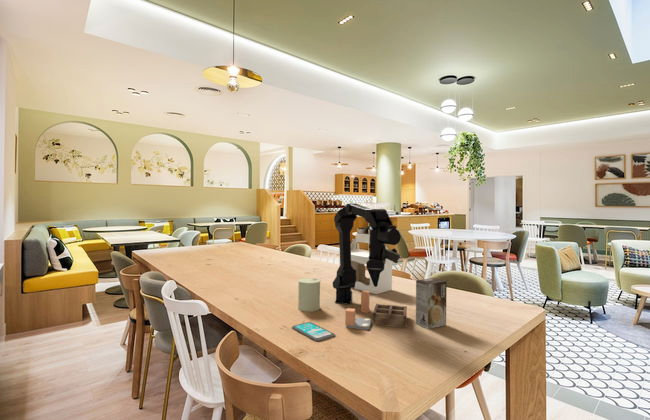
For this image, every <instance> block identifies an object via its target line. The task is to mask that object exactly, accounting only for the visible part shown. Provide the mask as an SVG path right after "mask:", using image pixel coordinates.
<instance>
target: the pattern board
mask: <svg viewBox="0 0 650 420" xmlns="http://www.w3.org/2000/svg"><path fill="white" fill-rule="evenodd" d="M344 314H345V318H344V319H345V321H344V322H345V324H344V325H345V328H346V329H347V328H348V329H356V330H357V329H358V330H364V331H365V330H366V331H369V330H370V328H371V325H372V323H373V318H363V317H362V318H361V317H356V308H351V307H347V308H346V310H345V313H344Z"/></svg>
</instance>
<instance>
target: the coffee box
mask: <svg viewBox="0 0 650 420" xmlns="http://www.w3.org/2000/svg"><path fill="white" fill-rule="evenodd" d="M415 324H417V325H418V326H420V327H422V328H425V329H427V330H429V329H434V328H438V327H443V326H447V281H446V280H442V279H438V278H435V277H432V278H426V279H425V278H424V279H418V280H415Z"/></svg>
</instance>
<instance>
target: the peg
mask: <svg viewBox="0 0 650 420" xmlns="http://www.w3.org/2000/svg"><path fill="white" fill-rule="evenodd" d="M360 296H361V297H360V312H361V313H367V314H368V313H369V312H370V291H365V290H362V291H361V294H360Z"/></svg>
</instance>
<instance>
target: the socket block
mask: <svg viewBox="0 0 650 420" xmlns="http://www.w3.org/2000/svg"><path fill="white" fill-rule="evenodd" d="M407 309H408V308H407V306H406V305H396V304H395V305H394V304H393V305H392V304H385V303H383V304H382V303H375V305H374V310H373V312H372V325H379V326H387V327H389V326H390V327H399V328H407V320H408V319H407V317H408V315H407V313H408V312H407Z"/></svg>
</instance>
